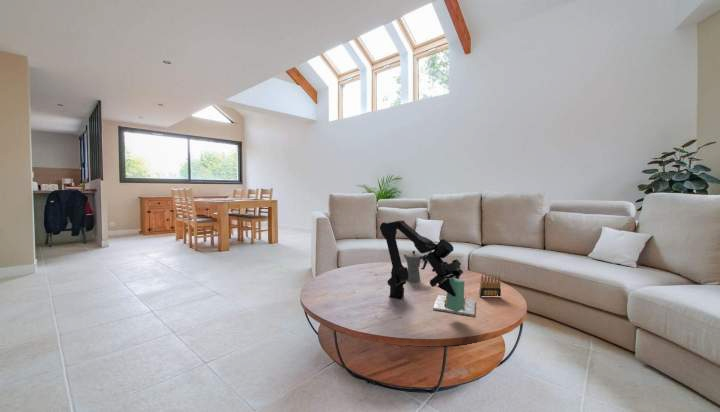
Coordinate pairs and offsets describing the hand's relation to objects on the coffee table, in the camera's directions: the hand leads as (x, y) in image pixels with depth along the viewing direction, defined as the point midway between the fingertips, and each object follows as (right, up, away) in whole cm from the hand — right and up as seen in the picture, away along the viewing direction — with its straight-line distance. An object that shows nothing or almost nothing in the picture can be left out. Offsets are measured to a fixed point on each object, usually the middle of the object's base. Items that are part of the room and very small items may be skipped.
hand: (458, 294), depth 129 cm
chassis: (+3, -10, +16) cm, 19 cm away
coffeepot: (-9, -7, +55) cm, 56 cm away
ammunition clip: (+26, -10, +29) cm, 40 cm away
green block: (-1, -6, +2) cm, 7 cm away
